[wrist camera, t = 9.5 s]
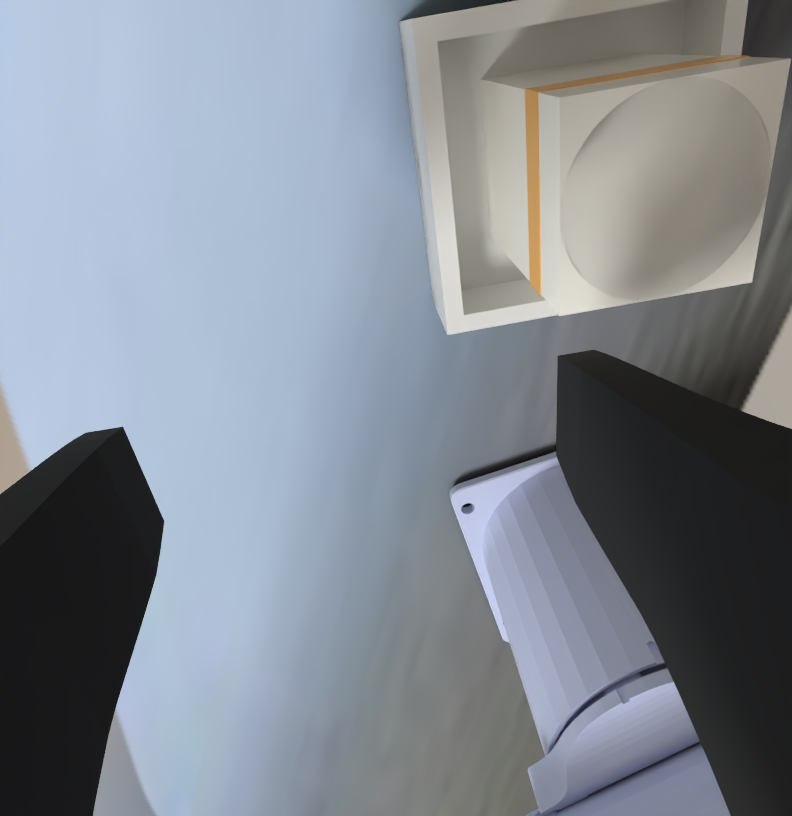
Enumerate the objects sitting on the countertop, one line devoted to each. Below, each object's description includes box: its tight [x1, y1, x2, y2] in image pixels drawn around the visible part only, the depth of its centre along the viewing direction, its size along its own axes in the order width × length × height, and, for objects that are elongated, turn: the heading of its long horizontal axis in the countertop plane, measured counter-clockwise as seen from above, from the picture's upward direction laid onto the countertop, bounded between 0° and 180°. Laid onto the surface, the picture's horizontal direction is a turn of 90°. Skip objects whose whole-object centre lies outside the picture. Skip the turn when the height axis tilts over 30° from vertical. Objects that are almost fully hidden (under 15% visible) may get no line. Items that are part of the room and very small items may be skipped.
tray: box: [399, 0, 748, 335], centre depth 16 cm, size 8×8×3 cm
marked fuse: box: [480, 53, 791, 316], centre depth 14 cm, size 4×4×6 cm
